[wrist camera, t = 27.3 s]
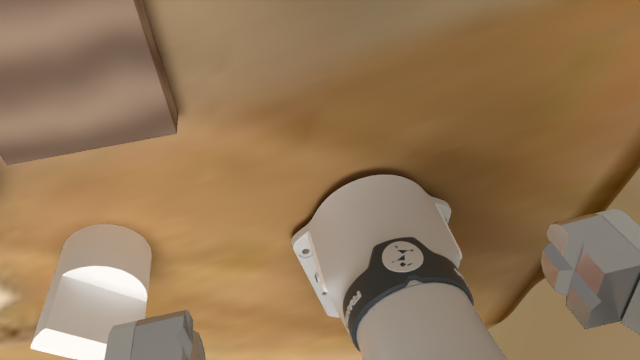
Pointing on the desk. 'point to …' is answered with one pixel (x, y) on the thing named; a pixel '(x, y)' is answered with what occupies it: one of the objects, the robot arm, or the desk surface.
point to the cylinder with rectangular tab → (94, 291)
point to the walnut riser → (79, 78)
